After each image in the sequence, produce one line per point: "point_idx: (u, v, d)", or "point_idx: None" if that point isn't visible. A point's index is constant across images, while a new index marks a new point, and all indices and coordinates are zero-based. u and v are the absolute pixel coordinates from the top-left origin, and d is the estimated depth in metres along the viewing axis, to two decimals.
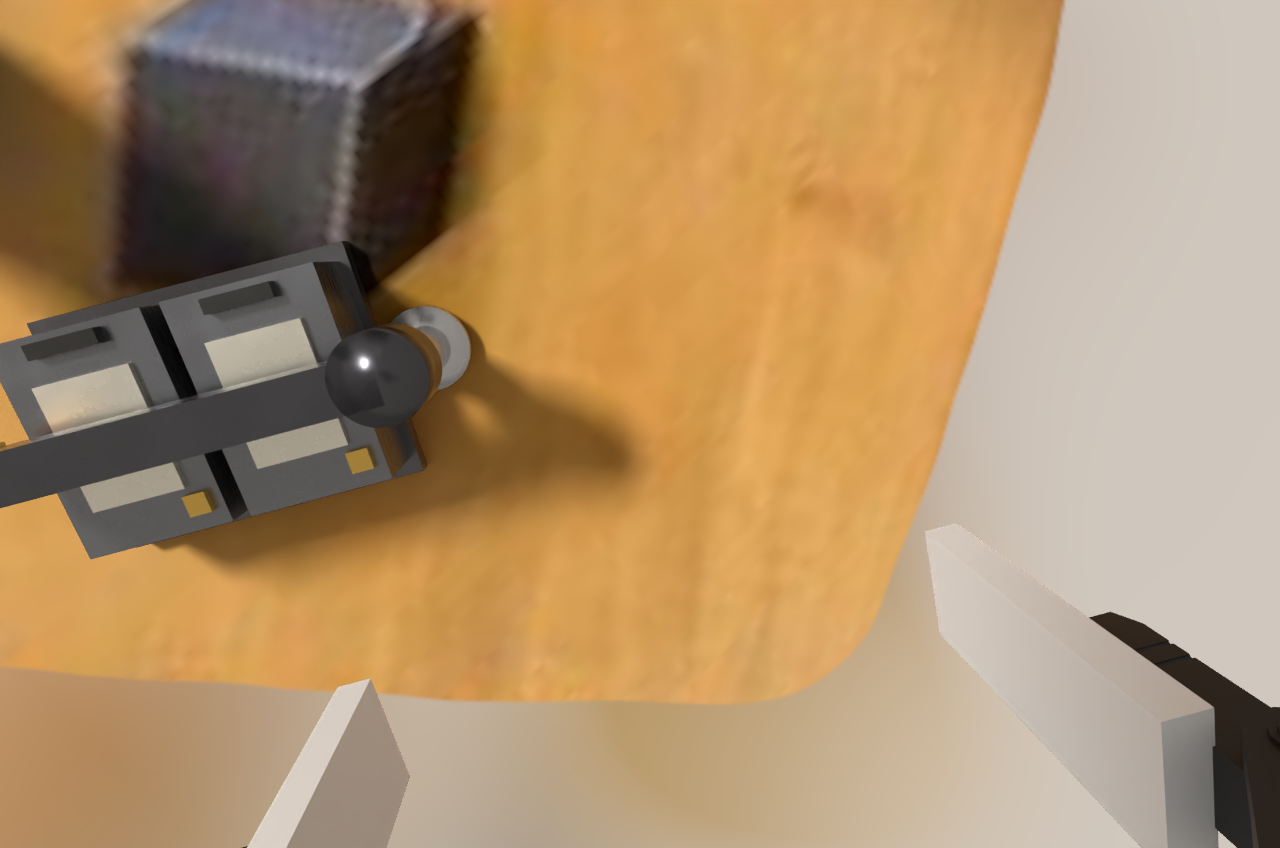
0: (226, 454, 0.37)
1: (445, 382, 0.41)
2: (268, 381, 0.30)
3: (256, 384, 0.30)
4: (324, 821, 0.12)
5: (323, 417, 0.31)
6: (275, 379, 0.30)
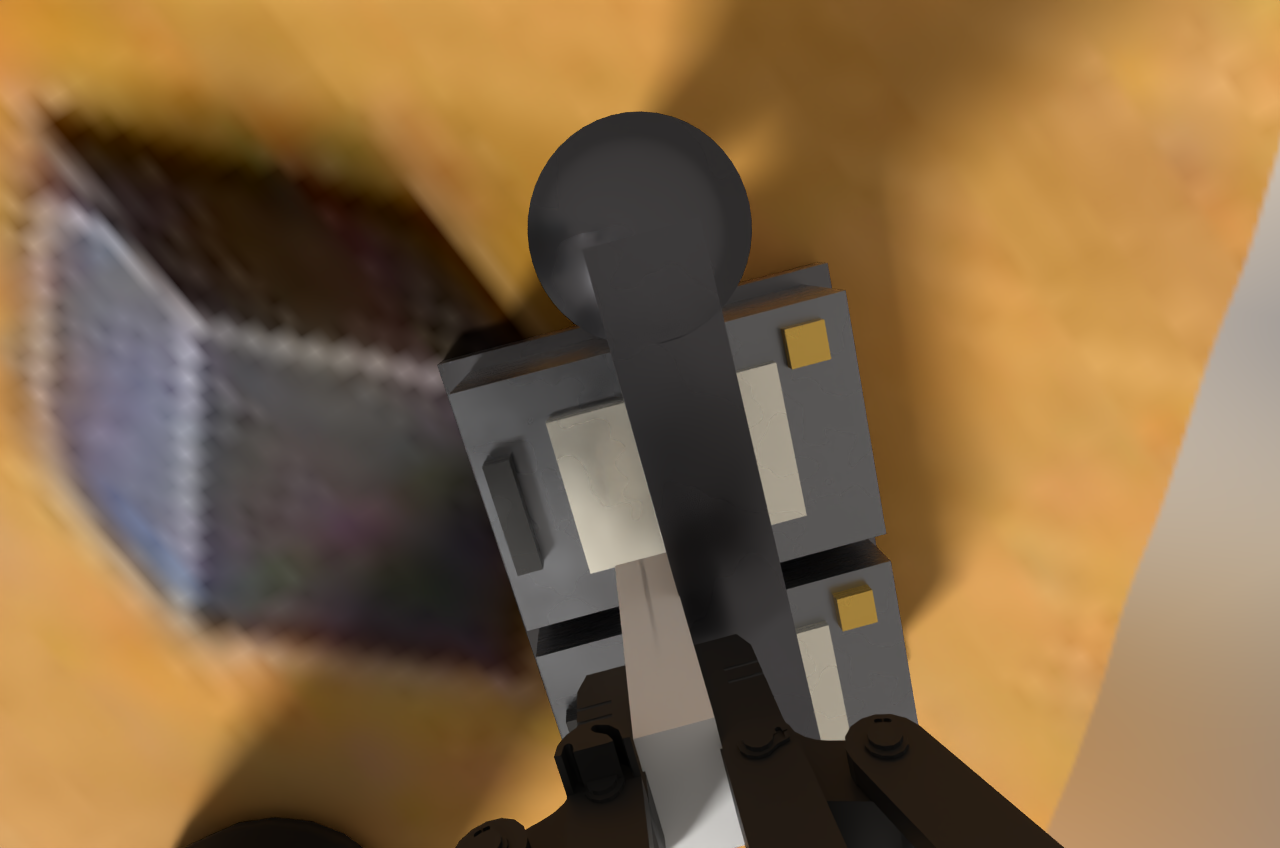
0: None
1: None
2: (642, 458, 0.14)
3: (648, 482, 0.15)
4: None
5: (722, 355, 0.14)
6: (638, 445, 0.14)
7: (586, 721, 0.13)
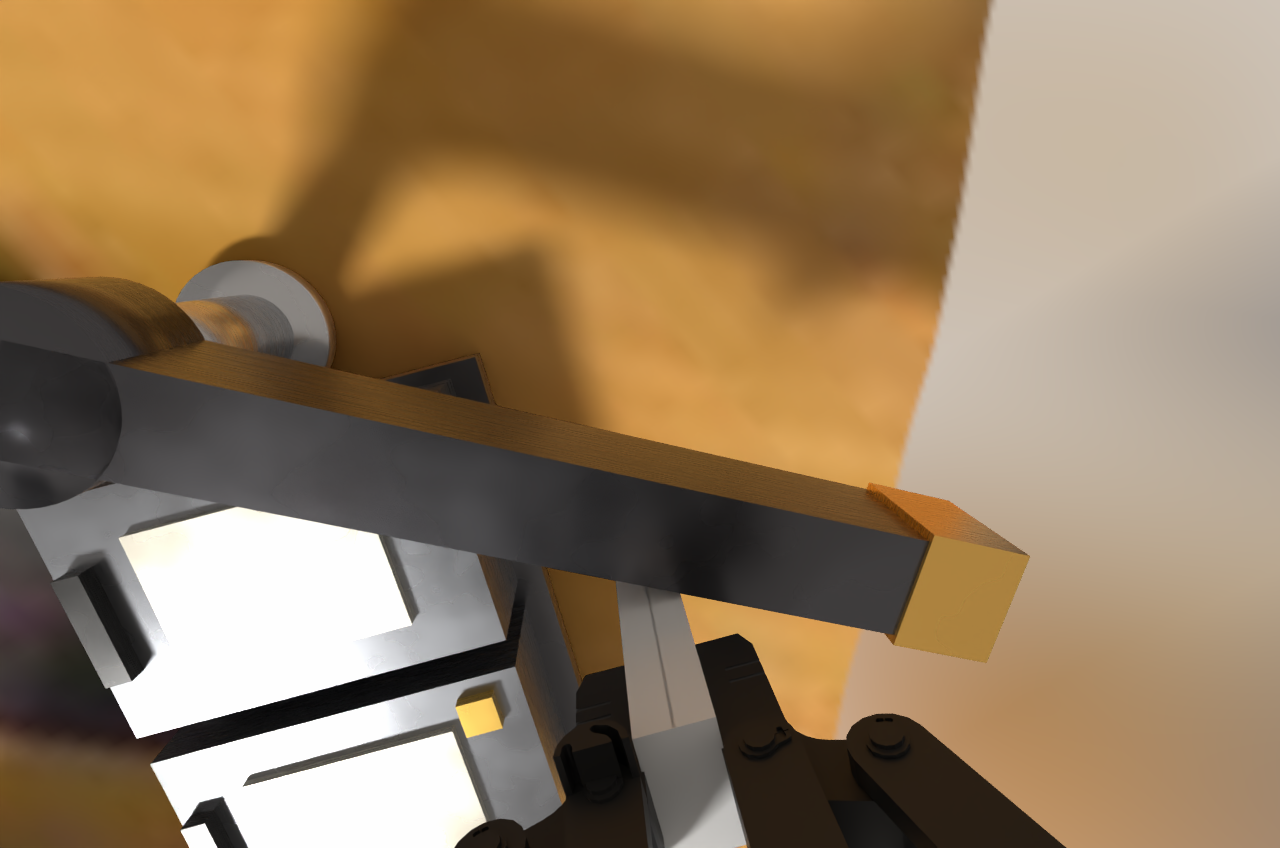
0: (393, 667, 0.22)
1: (308, 308, 0.23)
2: (238, 503, 0.14)
3: (266, 509, 0.14)
4: None
5: (158, 384, 0.13)
6: (221, 500, 0.14)
7: (585, 721, 0.13)
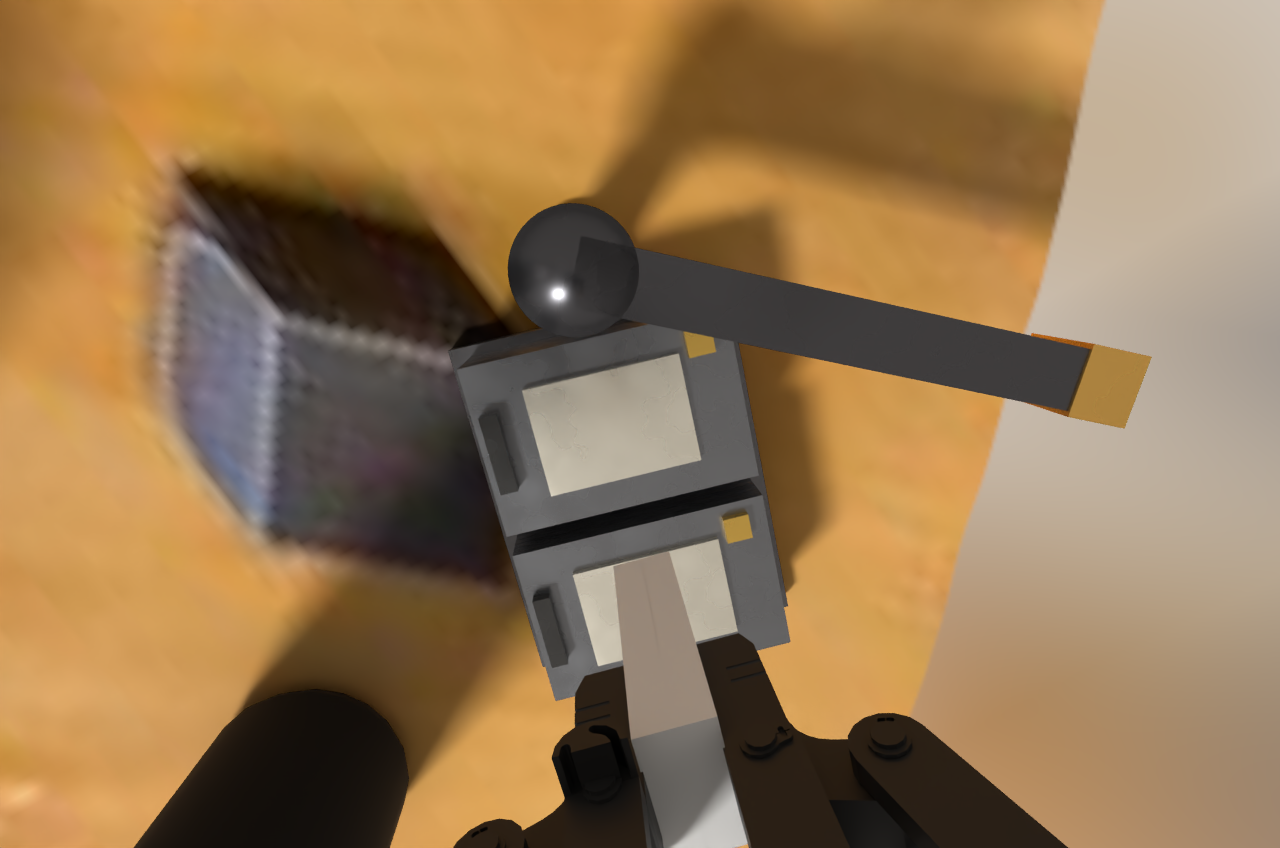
0: (681, 491, 0.32)
1: None
2: (694, 331, 0.24)
3: (709, 335, 0.24)
4: None
5: (660, 259, 0.23)
6: (685, 330, 0.24)
7: (584, 722, 0.13)
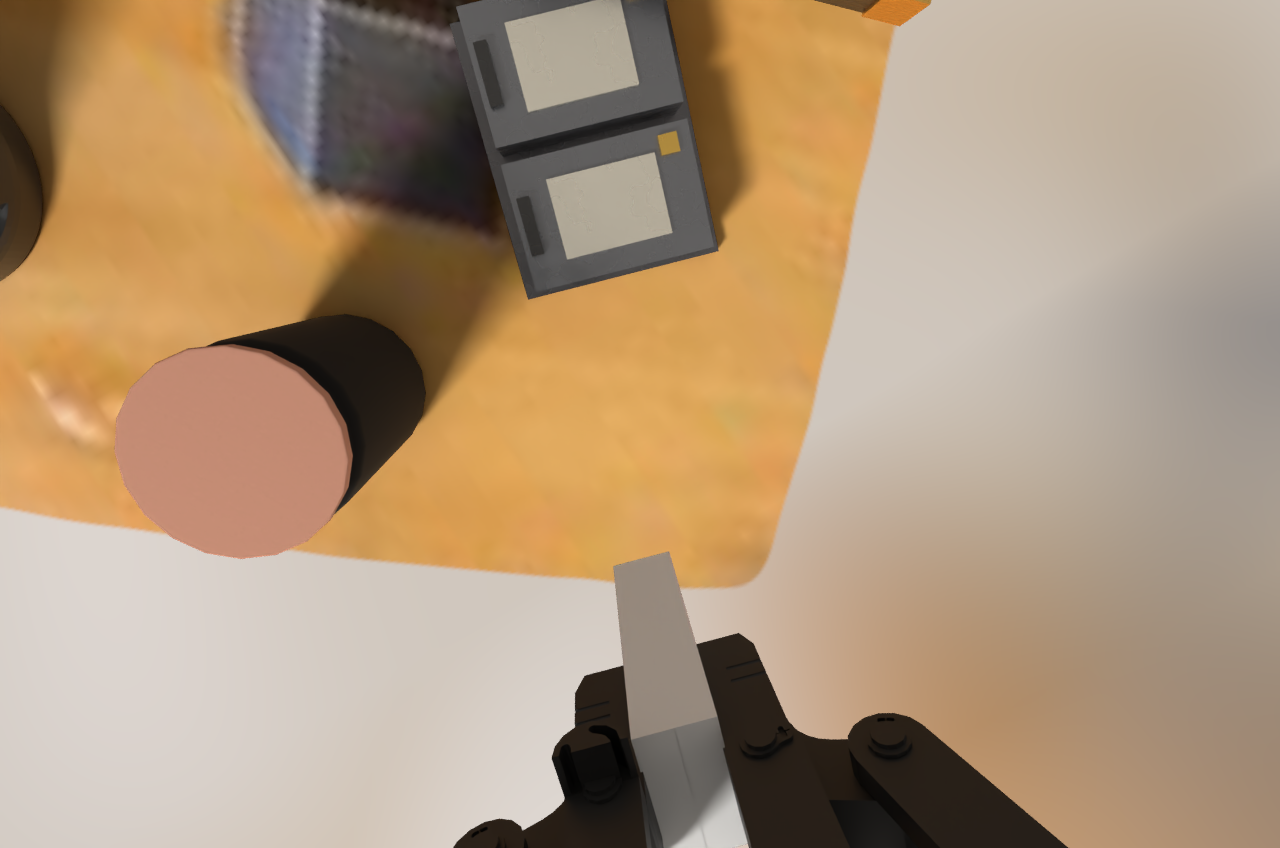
0: (626, 113, 0.42)
1: None
2: None
3: None
4: None
5: None
6: None
7: (584, 722, 0.13)
